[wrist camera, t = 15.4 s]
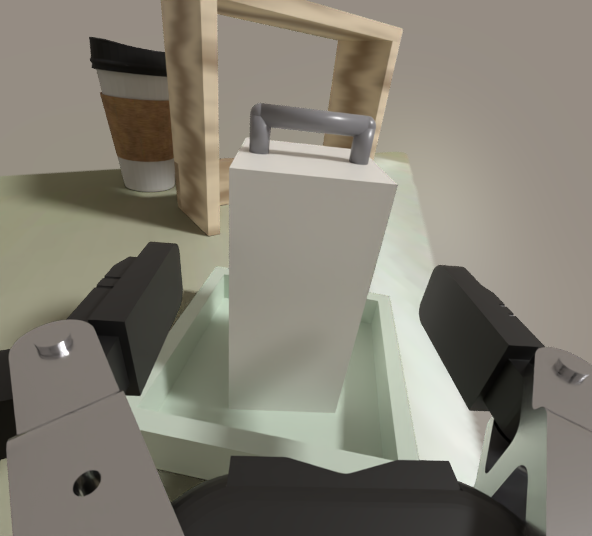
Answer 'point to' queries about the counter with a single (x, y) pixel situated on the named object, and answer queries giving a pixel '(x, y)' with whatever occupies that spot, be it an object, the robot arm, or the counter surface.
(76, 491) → the robot arm
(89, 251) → the counter surface
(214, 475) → the tray
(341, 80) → the frame
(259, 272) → the caddy
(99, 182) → the counter surface
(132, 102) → the coffee cup
